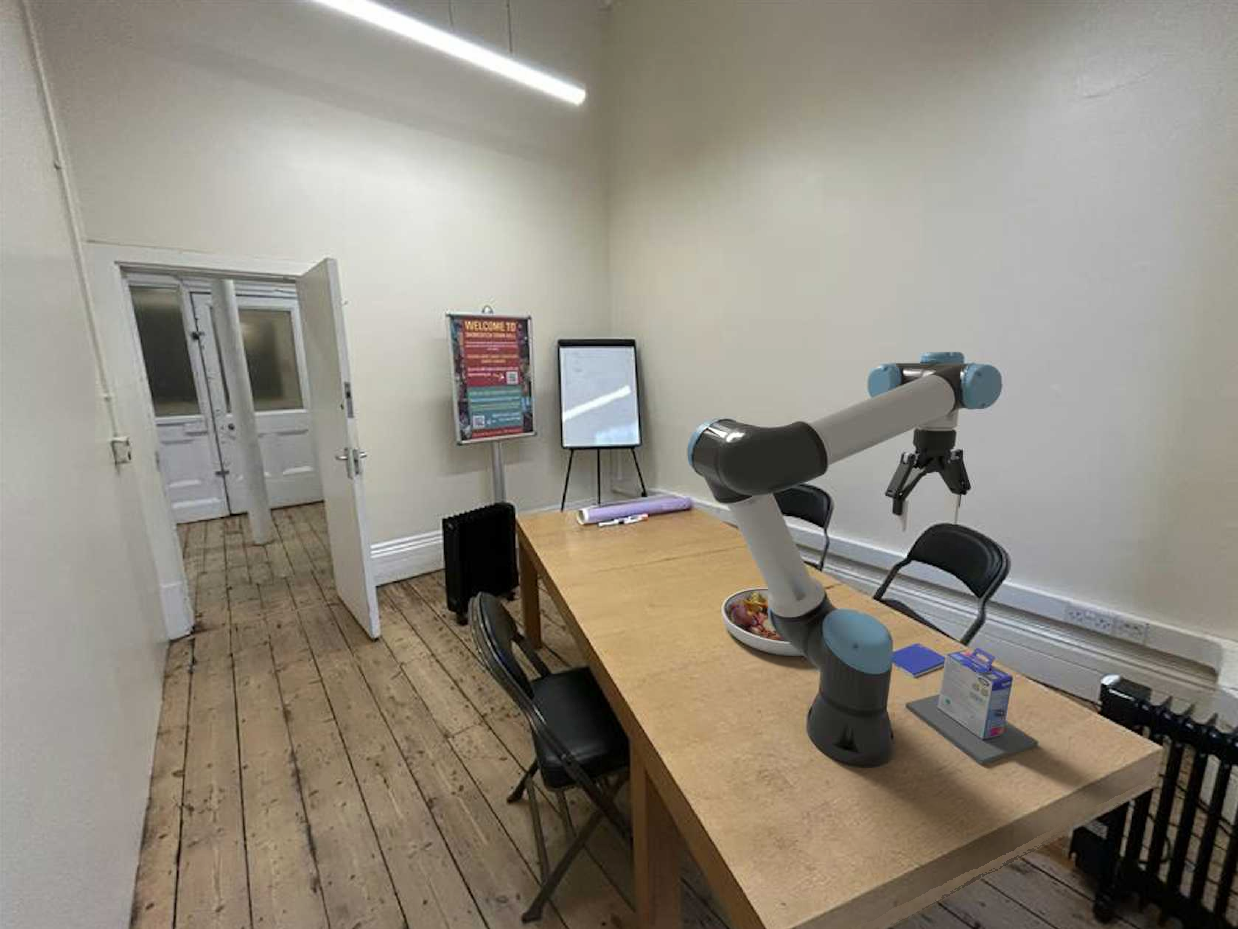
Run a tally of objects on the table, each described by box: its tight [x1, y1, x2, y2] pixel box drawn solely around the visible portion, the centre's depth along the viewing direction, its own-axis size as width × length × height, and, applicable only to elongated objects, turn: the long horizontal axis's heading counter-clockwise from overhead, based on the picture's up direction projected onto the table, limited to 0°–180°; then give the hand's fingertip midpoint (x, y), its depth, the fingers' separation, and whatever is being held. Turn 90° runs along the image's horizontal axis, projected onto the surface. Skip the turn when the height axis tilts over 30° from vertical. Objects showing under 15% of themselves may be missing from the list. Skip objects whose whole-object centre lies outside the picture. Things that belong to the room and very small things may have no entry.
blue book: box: [892, 643, 945, 678], centre depth 121 cm, size 2×8×12 cm
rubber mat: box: [905, 693, 1039, 766], centre depth 99 cm, size 14×16×1 cm
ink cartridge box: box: [938, 647, 1014, 739], centre depth 98 cm, size 10×6×14 cm, turn 18°
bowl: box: [721, 587, 804, 657], centre depth 135 cm, size 30×30×8 cm
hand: (924, 526), depth 110 cm, fingers open, 13 cm apart
